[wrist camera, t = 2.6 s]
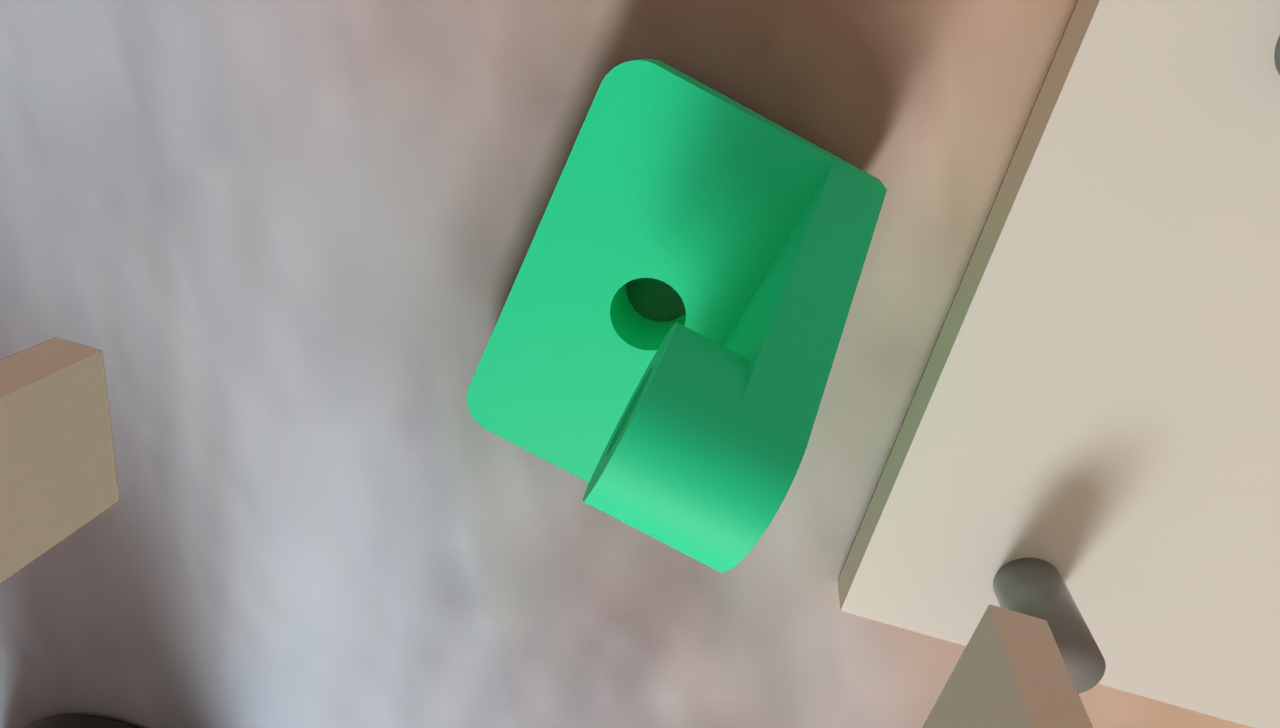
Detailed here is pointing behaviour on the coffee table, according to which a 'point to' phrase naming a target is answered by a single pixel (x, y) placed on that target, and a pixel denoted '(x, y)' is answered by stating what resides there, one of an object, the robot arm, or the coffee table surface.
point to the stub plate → (1112, 376)
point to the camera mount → (699, 339)
